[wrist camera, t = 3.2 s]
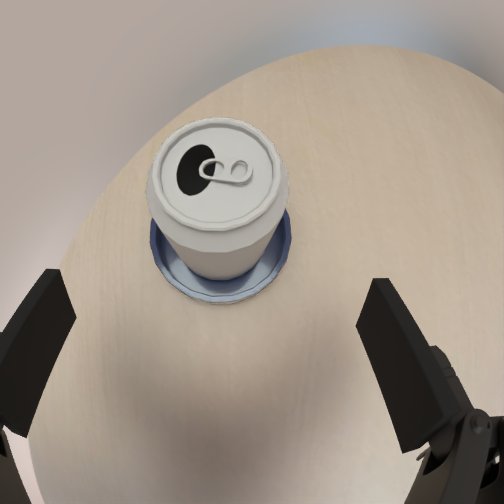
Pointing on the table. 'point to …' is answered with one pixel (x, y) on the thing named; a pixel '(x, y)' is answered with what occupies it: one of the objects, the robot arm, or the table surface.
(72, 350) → the table surface
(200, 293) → the dish
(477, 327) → the table surface
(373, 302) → the robot arm
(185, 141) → the can
